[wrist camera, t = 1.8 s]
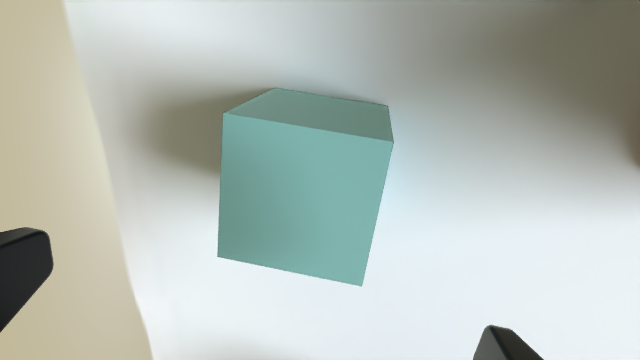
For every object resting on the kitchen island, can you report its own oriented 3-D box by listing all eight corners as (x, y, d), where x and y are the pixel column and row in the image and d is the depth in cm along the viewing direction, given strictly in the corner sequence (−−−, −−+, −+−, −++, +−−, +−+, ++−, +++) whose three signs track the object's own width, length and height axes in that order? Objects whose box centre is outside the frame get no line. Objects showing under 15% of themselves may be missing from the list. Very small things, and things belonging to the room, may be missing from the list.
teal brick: (388, 105, 16) (393, 141, 10) (366, 209, 18) (361, 286, 12) (275, 87, 16) (222, 112, 11) (266, 190, 18) (217, 256, 13)
